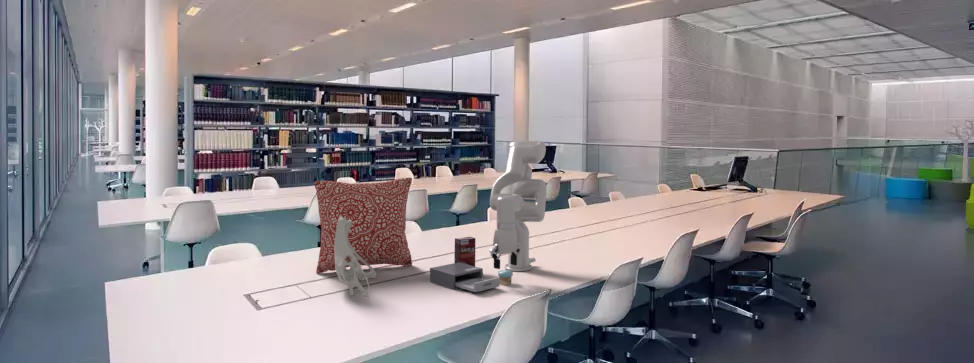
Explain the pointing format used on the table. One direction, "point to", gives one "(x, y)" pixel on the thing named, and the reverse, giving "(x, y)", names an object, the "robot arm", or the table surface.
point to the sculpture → (346, 250)
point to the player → (454, 274)
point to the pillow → (365, 221)
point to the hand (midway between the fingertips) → (505, 266)
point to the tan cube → (505, 280)
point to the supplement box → (465, 250)
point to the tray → (478, 284)
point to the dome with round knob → (505, 273)
